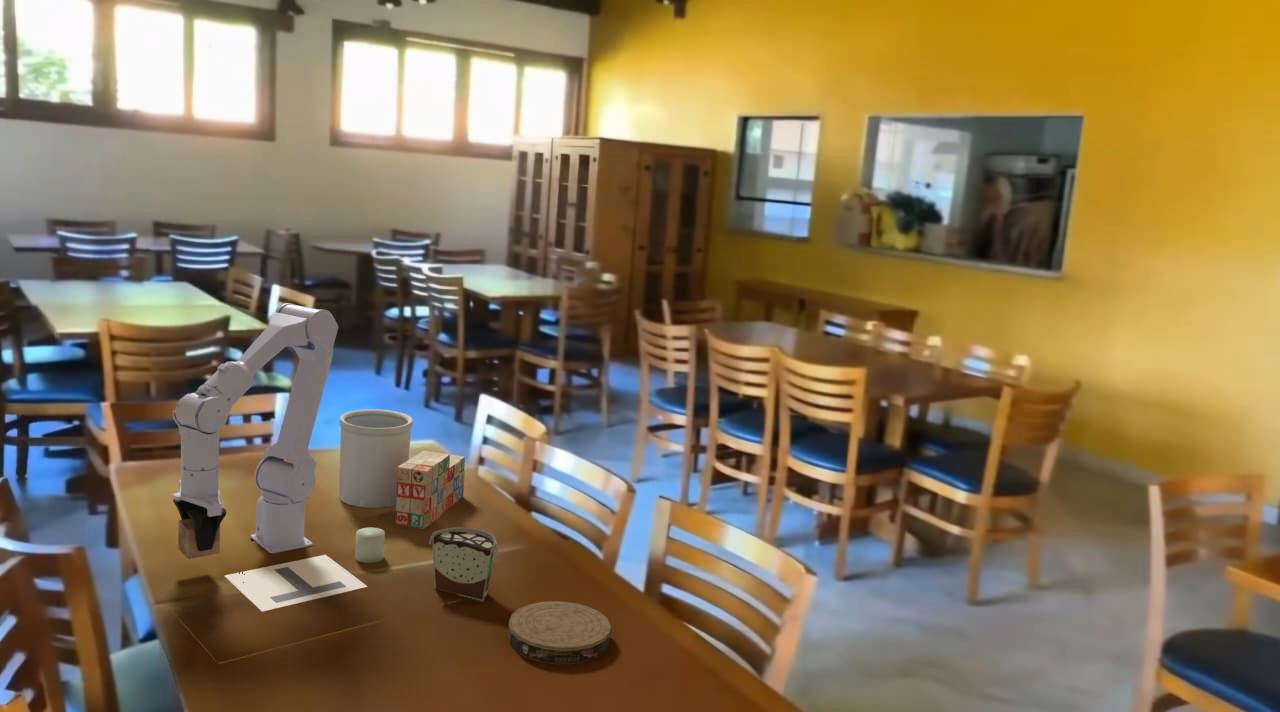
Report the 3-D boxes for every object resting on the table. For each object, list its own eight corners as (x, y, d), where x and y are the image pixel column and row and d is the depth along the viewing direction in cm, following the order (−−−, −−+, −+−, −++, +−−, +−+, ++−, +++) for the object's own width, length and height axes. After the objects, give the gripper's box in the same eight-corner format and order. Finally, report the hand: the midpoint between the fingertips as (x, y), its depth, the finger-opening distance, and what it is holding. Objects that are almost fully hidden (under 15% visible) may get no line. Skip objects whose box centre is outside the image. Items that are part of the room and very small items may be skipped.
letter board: (223, 576, 167) (224, 575, 167) (325, 555, 179) (325, 554, 179) (262, 612, 155) (262, 611, 155) (367, 587, 168) (367, 586, 168)
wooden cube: (178, 548, 166) (178, 520, 165) (209, 543, 170) (209, 515, 169) (188, 559, 163) (188, 530, 162) (219, 553, 166) (219, 524, 165)
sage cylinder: (350, 556, 180) (351, 530, 179) (375, 551, 183) (377, 525, 182) (362, 566, 176) (363, 539, 175) (388, 561, 179) (389, 535, 178)
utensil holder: (423, 498, 214) (427, 419, 210) (370, 514, 201) (374, 431, 198) (375, 481, 221) (378, 405, 218) (321, 497, 209) (324, 416, 205)
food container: (507, 590, 172) (511, 535, 170) (491, 603, 166) (494, 547, 164) (445, 575, 175) (448, 521, 174) (426, 587, 170) (429, 532, 168)
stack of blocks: (436, 493, 218) (439, 439, 215) (463, 497, 217) (466, 443, 214) (394, 525, 197) (396, 465, 195) (423, 530, 196) (426, 470, 194)
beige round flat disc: (546, 609, 166) (548, 592, 166) (628, 638, 159) (629, 620, 158) (486, 643, 153) (487, 625, 152) (572, 677, 145) (573, 658, 144)
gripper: (159, 457, 166) (159, 534, 168) (189, 482, 156) (189, 563, 158) (203, 452, 171) (202, 527, 173) (235, 475, 160) (234, 555, 163)
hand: (199, 544), depth 166 cm, fingers closed on wooden cube, 5 cm apart
